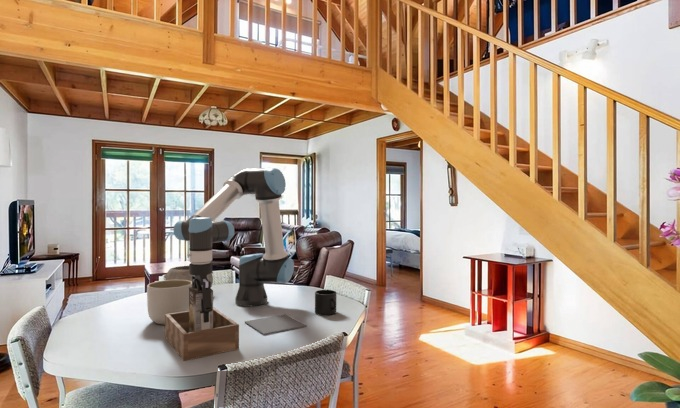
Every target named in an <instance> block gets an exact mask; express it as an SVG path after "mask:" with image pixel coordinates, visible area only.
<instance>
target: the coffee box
mask: <svg viewBox="0 0 680 408" xmlns="http://www.w3.org/2000/svg"><path fill="white" fill-rule="evenodd" d="M201 299H203V294H202V291H198V290H197V287H196V288H193V287H189V332H194V331H200V330H201V313H200V311H202V308H201ZM211 301H212V311H210V329H211V328H213V307H214V290H213V289H212V288H211Z"/></svg>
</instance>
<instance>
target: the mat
mask: <svg viewBox="0 0 680 408" xmlns="http://www.w3.org/2000/svg"><path fill="white" fill-rule="evenodd" d="M244 324H246V325H247V326H249V327H250V328H252V329H253V330H255V331H256V332H258V333H260V334H261V335H262V336H267V335H271V334H272V335H273V334H276V333H277V334H278V333H282V332H286V331H292V330H297V329H301V328H306V327H307V326H308V325H307V324H305V323H303V322H301V321H299V320H297V319H296V318H294V317H291V316H290V315H287V314H285V313H284V314H279V315H273V316H267V317H263V318H256V319H251V320H244Z"/></svg>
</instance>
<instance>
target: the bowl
mask: <svg viewBox="0 0 680 408" xmlns="http://www.w3.org/2000/svg"><path fill="white" fill-rule="evenodd" d="M213 274H214V272H213V270H212V273H211V274H208V275H207V279H208V281H210V282H211V288H212V286H213V281H214V277H213ZM192 276H195V275H190V274H189V265H180V266H175V267H172V268H169V270H168V271H167V273H165V276H164V279H165V280H189V281H192Z"/></svg>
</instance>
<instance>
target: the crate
mask: <svg viewBox="0 0 680 408" xmlns="http://www.w3.org/2000/svg"><path fill="white" fill-rule="evenodd" d="M164 338H166V340H167V341H168V343H170V345H171V347H172V348H173V349H174V350H175V351H176V353H177V354H178V356H179V357H180V358H181V359H182V360H183V361H189V360H193V359H199V358H203V357H207V356H213V355H217V354H221V353H226V352H230V351H235V350H239V349H240V324H239V323H237V322H236V321H235V320H233V319H231V318H230V317H228V316H227V315H226V314H224V313H223V312H222V311H220V310H219V309H217V308H216V307H214V306H213V328H211V329H205V330H200V331H194V332H189V311H184V312H177V313H170V314H165V325H164Z"/></svg>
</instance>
